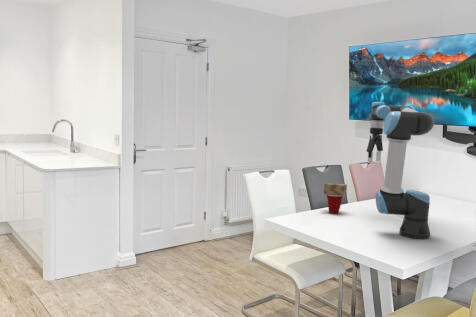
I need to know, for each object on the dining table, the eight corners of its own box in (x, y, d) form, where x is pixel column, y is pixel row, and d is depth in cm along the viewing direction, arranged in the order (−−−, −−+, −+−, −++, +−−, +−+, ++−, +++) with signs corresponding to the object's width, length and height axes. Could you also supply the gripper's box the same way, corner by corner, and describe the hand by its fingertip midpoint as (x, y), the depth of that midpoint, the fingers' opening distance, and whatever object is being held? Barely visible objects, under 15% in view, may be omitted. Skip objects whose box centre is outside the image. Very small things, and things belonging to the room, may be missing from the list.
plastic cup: (341, 211, 282) (342, 192, 280) (343, 215, 271) (345, 196, 270) (324, 210, 283) (325, 191, 282) (325, 214, 272) (326, 195, 271)
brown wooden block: (346, 194, 277) (346, 184, 277) (343, 195, 269) (344, 185, 269) (327, 192, 282) (327, 183, 282) (323, 193, 274) (324, 184, 274)
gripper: (378, 126, 283) (375, 159, 285) (362, 127, 263) (360, 163, 266) (389, 127, 278) (387, 161, 281) (375, 128, 259) (372, 164, 261)
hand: (374, 162), depth 273 cm, fingers open, 13 cm apart
